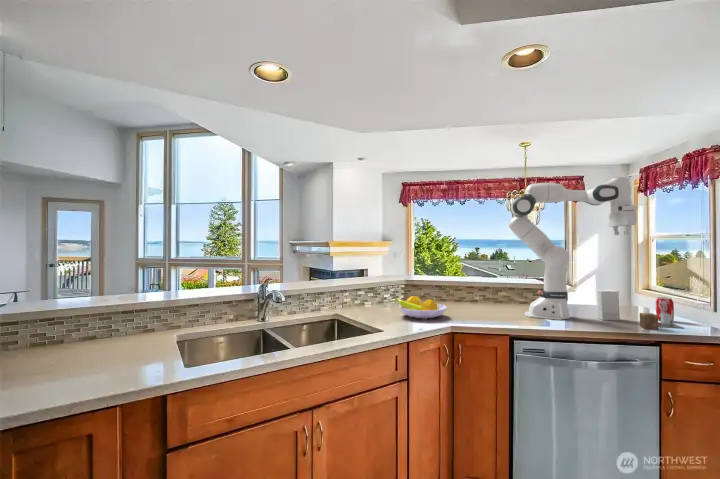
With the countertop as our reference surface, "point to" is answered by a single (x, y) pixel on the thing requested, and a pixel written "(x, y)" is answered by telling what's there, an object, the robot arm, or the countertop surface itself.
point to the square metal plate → (667, 322)
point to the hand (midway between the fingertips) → (621, 234)
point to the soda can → (665, 307)
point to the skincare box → (608, 305)
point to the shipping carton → (649, 321)
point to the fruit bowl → (421, 308)
